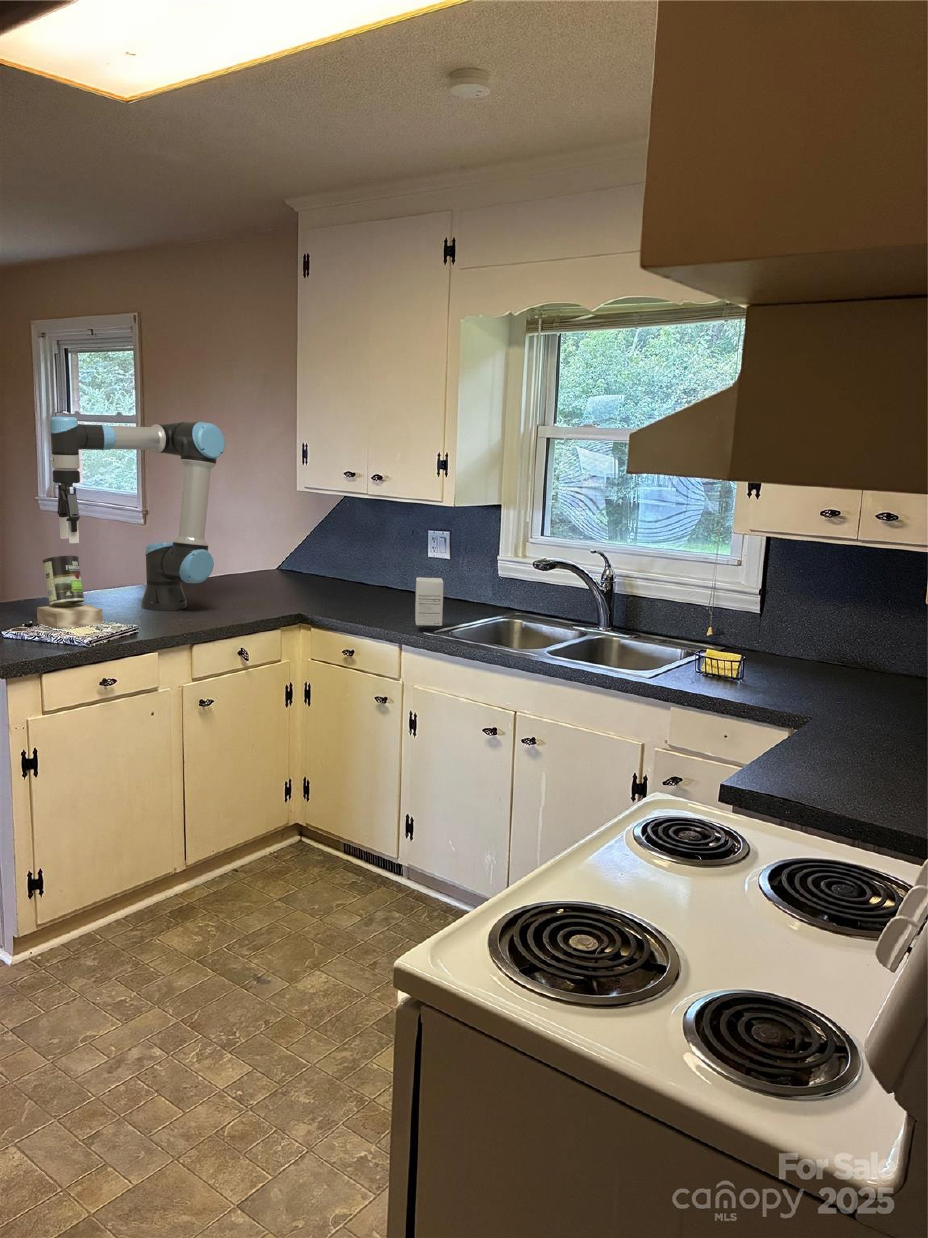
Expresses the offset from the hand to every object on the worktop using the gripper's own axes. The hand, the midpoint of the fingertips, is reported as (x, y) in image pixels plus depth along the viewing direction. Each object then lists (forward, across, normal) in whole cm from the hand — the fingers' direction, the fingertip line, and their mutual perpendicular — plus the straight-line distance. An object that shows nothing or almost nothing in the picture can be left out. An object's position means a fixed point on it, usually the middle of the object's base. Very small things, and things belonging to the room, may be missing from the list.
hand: (69, 540), depth 283 cm
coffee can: (+20, -4, -1) cm, 20 cm away
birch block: (+27, -1, -1) cm, 27 cm away
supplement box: (+28, +36, +105) cm, 115 cm away
